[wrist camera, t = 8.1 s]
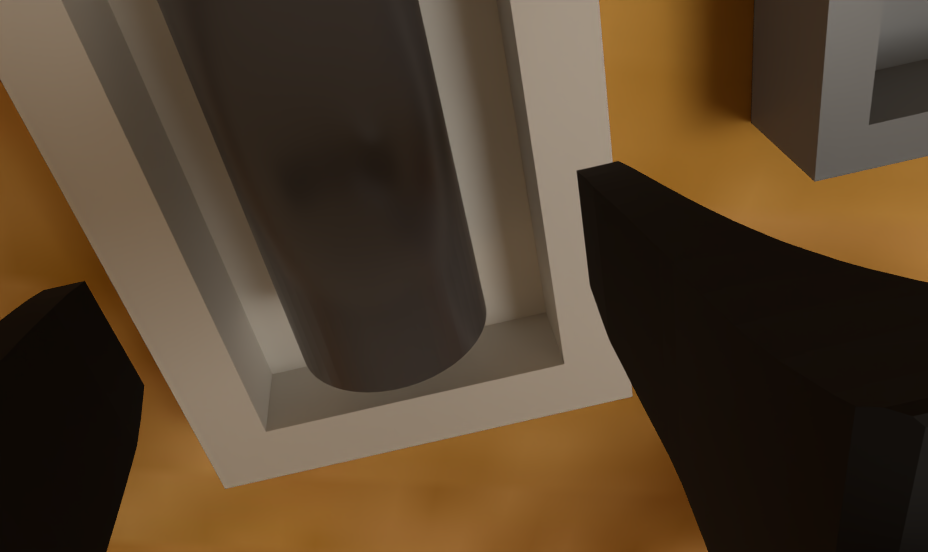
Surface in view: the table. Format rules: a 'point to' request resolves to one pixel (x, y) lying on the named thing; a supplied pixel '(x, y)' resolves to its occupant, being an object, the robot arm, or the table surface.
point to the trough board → (240, 262)
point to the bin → (841, 82)
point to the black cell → (341, 178)
